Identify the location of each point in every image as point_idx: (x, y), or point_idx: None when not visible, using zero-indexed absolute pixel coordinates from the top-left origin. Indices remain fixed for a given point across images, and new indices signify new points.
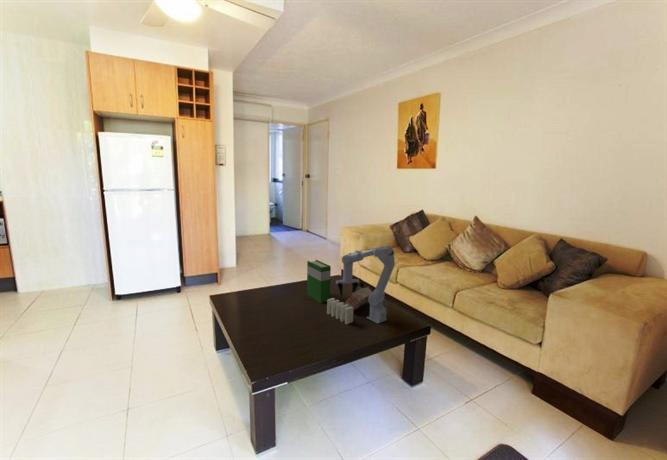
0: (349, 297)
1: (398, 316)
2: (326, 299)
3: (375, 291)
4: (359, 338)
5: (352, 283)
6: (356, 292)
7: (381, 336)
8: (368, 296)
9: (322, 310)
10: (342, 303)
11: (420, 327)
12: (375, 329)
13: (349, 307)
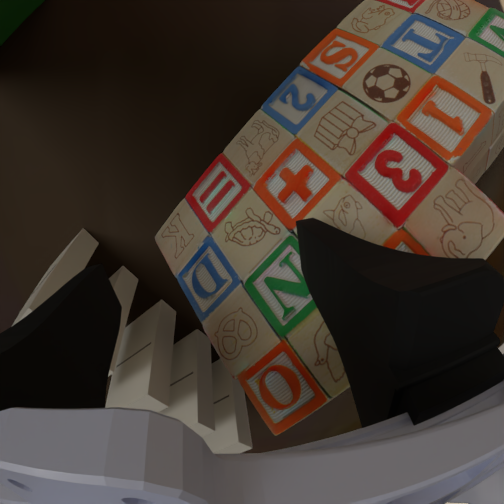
0: (231, 367)
1: (499, 270)
2: (9, 22)
3: (452, 500)
4: (254, 447)
5: (386, 333)
6: (348, 387)
7: (342, 427)
8: (476, 180)
9: (9, 216)
10: (156, 411)
11: (498, 345)
12: (341, 399)
13: (221, 452)
